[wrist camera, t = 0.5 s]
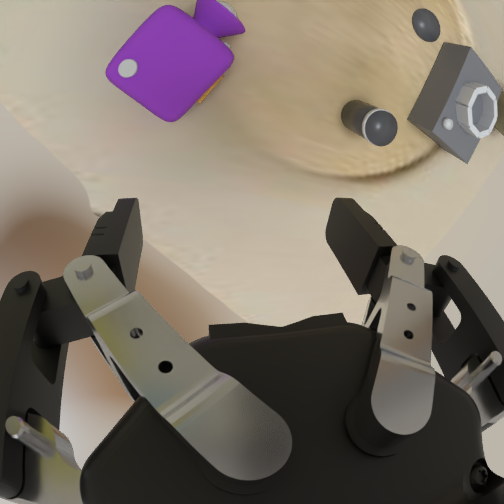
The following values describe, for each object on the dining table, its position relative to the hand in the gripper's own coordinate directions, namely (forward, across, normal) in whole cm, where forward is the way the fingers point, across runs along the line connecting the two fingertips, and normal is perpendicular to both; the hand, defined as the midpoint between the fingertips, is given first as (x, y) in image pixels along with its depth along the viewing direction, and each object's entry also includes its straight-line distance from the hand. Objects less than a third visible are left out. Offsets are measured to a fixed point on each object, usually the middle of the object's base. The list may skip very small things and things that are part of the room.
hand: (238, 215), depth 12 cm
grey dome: (+27, -30, -19) cm, 44 cm away
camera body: (+26, -37, -8) cm, 46 cm away
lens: (+26, -20, -1) cm, 33 cm away
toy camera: (+27, +4, -7) cm, 28 cm away
